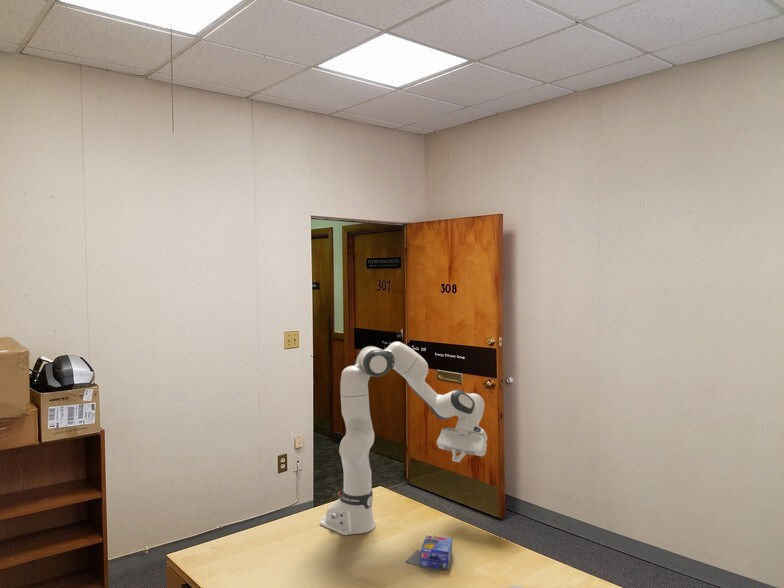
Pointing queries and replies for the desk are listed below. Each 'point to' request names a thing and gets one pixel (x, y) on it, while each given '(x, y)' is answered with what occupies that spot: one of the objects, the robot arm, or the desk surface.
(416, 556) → the mat
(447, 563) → the ink cartridge box
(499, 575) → the desk surface
